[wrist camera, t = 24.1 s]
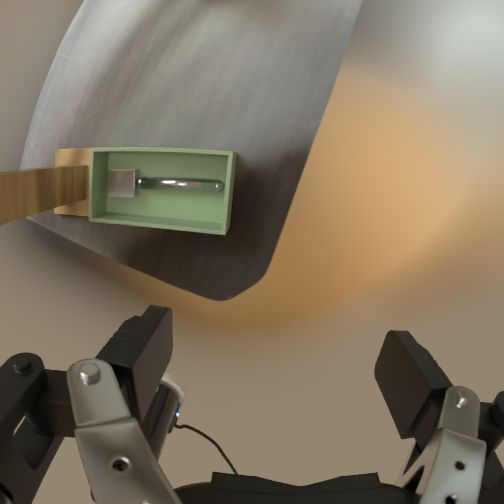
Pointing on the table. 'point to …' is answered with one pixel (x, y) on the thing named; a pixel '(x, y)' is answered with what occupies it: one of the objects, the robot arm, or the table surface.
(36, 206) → the shelf stand
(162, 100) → the table surface
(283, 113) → the table surface
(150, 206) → the bin
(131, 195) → the silver square-headed tool
